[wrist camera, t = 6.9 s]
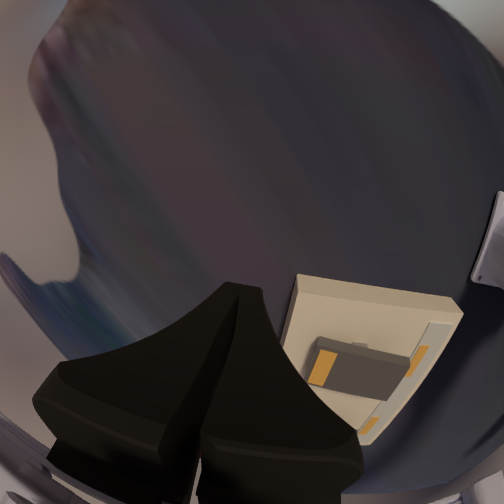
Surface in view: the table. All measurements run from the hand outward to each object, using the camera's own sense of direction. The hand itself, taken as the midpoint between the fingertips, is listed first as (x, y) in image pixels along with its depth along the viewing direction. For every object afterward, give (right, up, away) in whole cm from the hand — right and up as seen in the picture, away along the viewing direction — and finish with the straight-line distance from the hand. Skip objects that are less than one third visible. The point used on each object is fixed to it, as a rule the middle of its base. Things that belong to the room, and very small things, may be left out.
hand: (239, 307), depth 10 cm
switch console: (+9, -10, +13) cm, 19 cm away
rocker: (+8, -7, +8) cm, 13 cm away
